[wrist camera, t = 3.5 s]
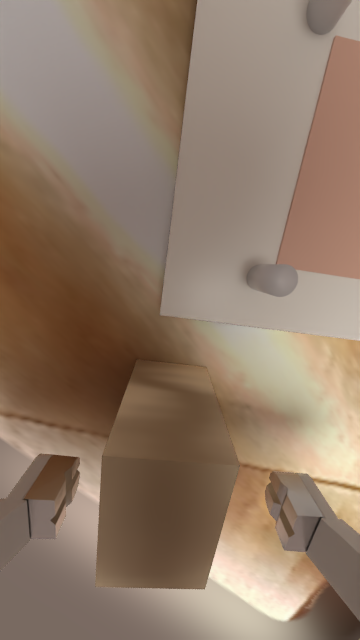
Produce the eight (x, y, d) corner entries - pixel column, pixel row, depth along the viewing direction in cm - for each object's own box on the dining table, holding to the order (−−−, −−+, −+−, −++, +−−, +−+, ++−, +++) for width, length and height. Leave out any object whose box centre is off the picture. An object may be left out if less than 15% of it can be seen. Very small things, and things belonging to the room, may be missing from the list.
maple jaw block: (129, 443, 13) (95, 586, 7) (137, 359, 11) (101, 455, 6) (190, 447, 13) (204, 589, 7) (206, 366, 12) (240, 465, 6)
